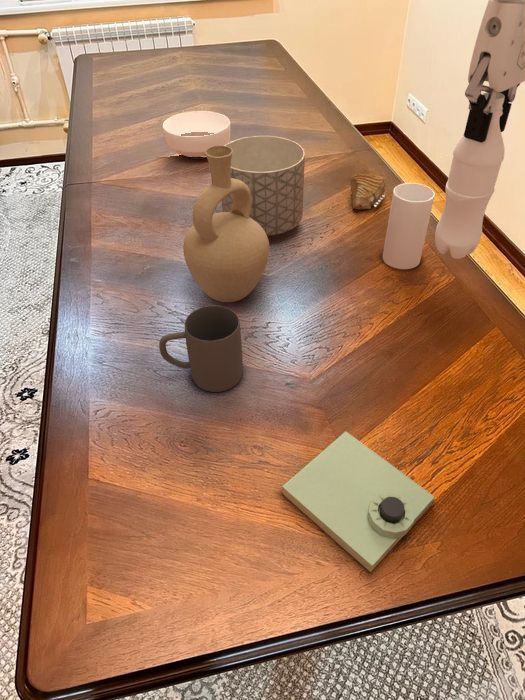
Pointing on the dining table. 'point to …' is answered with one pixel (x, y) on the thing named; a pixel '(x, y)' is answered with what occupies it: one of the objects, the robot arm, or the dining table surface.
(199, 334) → the mug
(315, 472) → the scale
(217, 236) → the vase
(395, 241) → the cup
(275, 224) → the planter
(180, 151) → the bowl
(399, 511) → the button
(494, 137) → the water bottle
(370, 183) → the fossil
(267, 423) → the dining table surface
